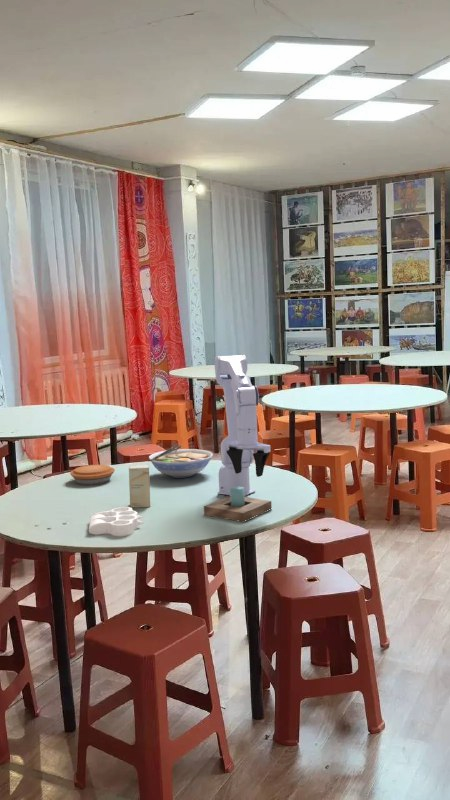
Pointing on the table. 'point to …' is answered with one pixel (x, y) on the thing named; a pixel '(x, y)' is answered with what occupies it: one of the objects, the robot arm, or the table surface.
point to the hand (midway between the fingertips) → (248, 474)
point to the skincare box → (139, 486)
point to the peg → (237, 496)
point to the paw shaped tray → (115, 522)
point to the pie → (92, 474)
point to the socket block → (237, 508)
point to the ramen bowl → (180, 461)
